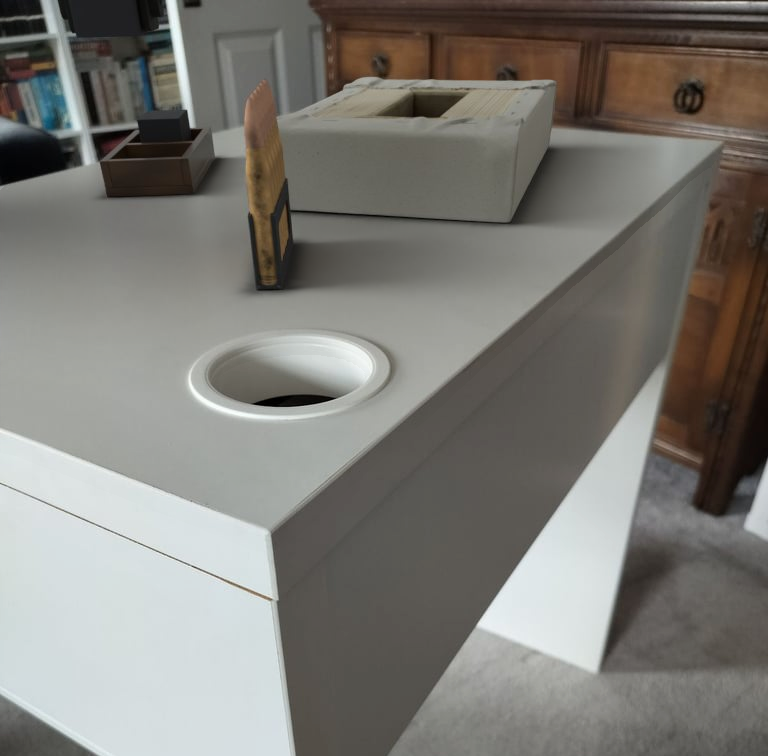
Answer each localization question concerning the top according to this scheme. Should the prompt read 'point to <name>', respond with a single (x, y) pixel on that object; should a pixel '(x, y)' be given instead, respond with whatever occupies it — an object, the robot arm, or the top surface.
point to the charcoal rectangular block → (164, 126)
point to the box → (419, 148)
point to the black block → (105, 18)
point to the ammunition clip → (267, 191)
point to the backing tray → (158, 165)
